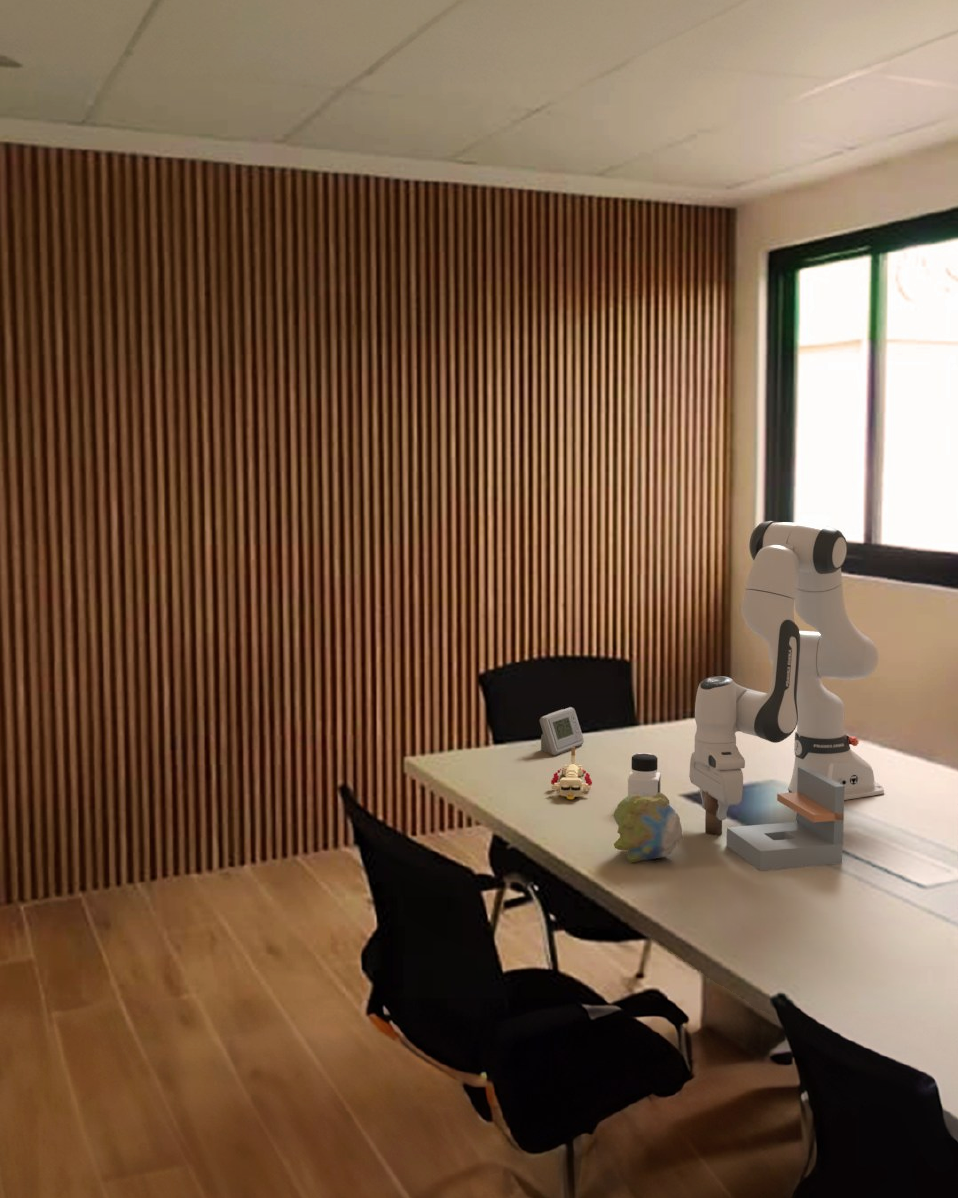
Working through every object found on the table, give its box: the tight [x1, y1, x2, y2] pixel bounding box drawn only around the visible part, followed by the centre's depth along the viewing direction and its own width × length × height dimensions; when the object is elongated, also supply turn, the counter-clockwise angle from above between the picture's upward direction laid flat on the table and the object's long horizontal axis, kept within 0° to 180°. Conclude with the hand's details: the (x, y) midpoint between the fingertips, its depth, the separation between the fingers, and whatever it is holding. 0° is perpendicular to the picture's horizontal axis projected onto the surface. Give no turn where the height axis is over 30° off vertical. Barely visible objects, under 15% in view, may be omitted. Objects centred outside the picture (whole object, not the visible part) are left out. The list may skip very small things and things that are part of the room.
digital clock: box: [539, 706, 585, 756], centre depth 353 cm, size 16×9×11 cm, turn 133°
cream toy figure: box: [550, 747, 593, 800], centre depth 316 cm, size 10×9×25 cm
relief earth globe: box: [613, 792, 683, 864], centre depth 263 cm, size 14×16×15 cm
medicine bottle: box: [627, 752, 662, 796], centre depth 300 cm, size 7×7×12 cm
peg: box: [704, 791, 723, 836], centre depth 279 cm, size 4×4×10 cm
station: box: [726, 766, 845, 871], centre depth 264 cm, size 18×16×16 cm
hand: (714, 814), depth 279 cm, fingers open, 6 cm apart
